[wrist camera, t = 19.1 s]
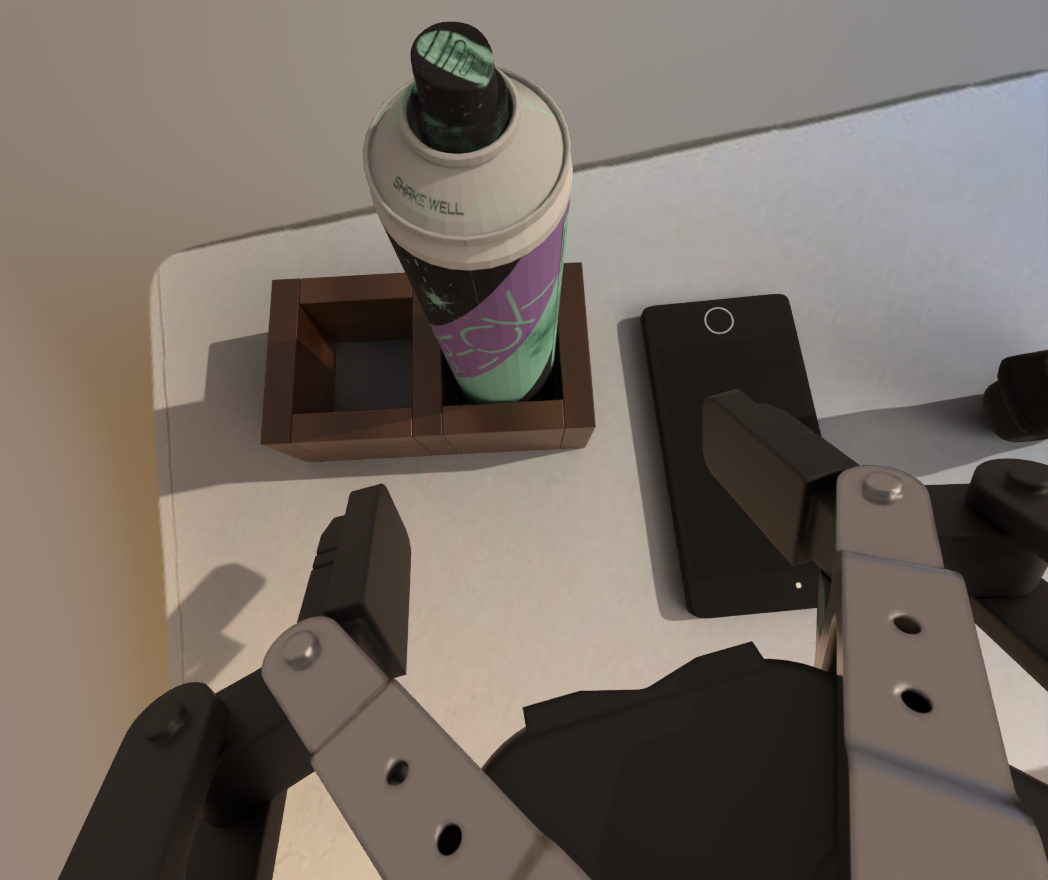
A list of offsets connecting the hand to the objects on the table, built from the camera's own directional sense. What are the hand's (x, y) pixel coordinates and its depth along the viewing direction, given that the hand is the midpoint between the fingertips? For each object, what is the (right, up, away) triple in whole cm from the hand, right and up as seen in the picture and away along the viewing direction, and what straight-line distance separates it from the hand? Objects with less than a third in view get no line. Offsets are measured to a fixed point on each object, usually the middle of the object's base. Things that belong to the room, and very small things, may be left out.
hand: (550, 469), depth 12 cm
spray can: (-2, +4, +18) cm, 18 cm away
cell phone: (+12, 0, +16) cm, 20 cm away
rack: (-5, +4, +17) cm, 19 cm away
